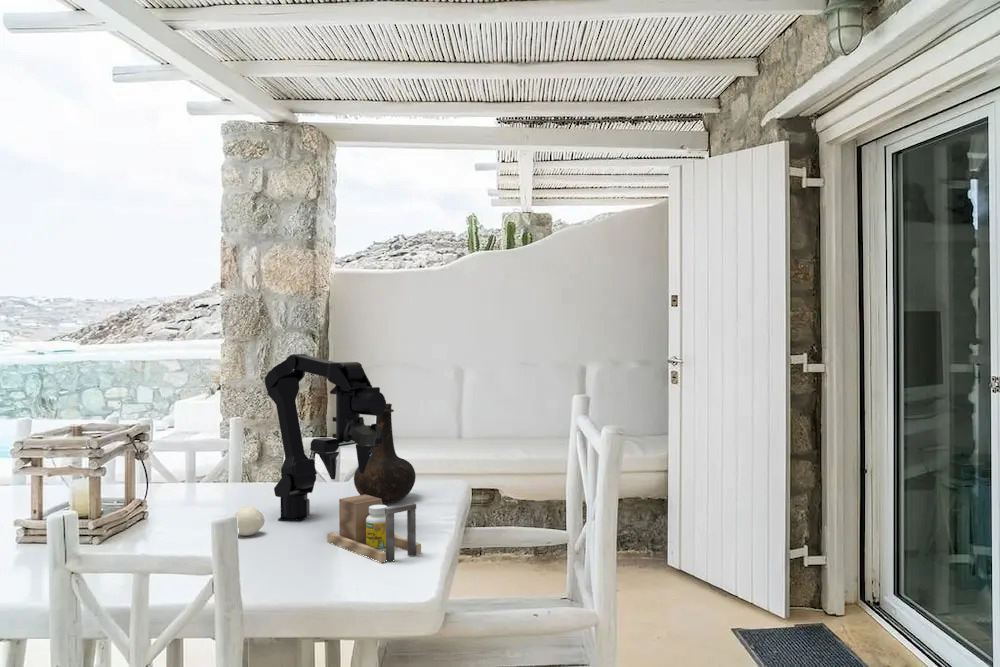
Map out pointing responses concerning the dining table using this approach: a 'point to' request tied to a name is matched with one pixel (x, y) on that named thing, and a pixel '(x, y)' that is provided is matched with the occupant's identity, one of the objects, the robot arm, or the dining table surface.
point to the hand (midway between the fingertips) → (347, 476)
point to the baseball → (249, 520)
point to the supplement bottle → (376, 527)
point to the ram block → (355, 516)
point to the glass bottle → (385, 467)
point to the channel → (391, 539)
